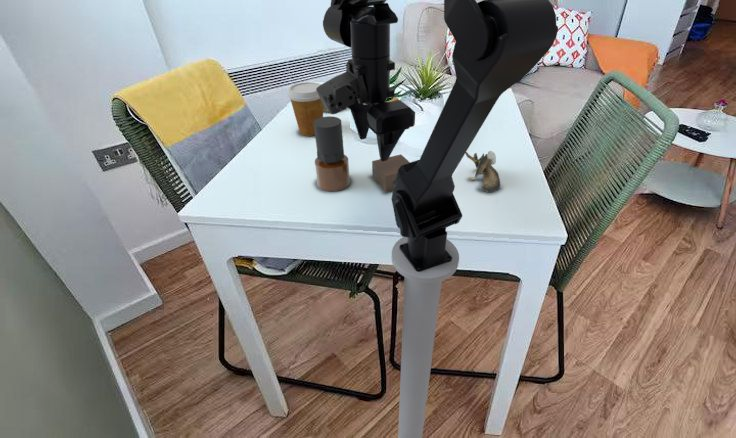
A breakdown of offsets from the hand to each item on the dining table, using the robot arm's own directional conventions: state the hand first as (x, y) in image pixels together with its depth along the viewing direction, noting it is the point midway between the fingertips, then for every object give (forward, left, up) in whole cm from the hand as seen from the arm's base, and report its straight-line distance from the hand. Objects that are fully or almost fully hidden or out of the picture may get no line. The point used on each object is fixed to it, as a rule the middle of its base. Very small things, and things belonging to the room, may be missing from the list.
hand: (372, 149), depth 66 cm
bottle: (+13, +4, -13) cm, 19 cm away
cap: (+13, +4, -7) cm, 15 cm away
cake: (+56, -10, -13) cm, 58 cm away
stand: (+8, -8, -13) cm, 17 cm away
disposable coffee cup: (+41, +1, -13) cm, 43 cm away
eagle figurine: (0, -25, -13) cm, 28 cm away
